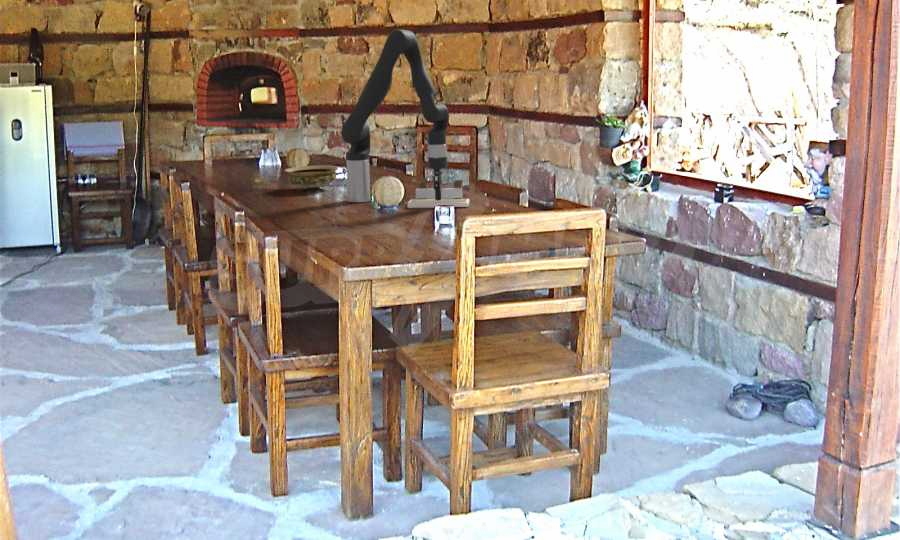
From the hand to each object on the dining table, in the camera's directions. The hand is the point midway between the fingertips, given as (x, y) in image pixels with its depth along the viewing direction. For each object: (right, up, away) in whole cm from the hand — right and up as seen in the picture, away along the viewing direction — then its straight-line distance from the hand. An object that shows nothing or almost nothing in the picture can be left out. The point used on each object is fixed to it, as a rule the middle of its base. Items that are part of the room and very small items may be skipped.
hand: (438, 199), depth 385 cm
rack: (+1, -1, +10) cm, 10 cm away
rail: (0, +1, 0) cm, 1 cm away
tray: (0, -3, +1) cm, 3 cm away
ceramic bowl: (-58, +8, +55) cm, 80 cm away
